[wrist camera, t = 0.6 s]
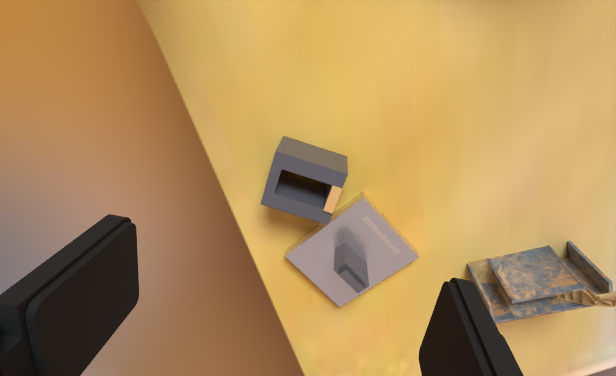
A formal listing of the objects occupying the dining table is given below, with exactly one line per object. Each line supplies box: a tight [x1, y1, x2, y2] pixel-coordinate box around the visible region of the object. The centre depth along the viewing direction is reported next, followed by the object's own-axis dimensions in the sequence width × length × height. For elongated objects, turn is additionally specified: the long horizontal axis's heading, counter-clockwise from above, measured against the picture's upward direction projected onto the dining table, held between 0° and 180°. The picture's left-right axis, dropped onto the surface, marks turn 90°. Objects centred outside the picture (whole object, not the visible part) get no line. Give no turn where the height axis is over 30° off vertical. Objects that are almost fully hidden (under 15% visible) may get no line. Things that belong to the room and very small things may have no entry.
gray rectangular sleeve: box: [261, 136, 348, 225], centre depth 39 cm, size 7×6×5 cm
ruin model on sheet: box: [467, 241, 616, 324], centre depth 40 cm, size 11×3×10 cm, turn 109°
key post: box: [285, 192, 419, 307], centre depth 42 cm, size 10×12×6 cm
